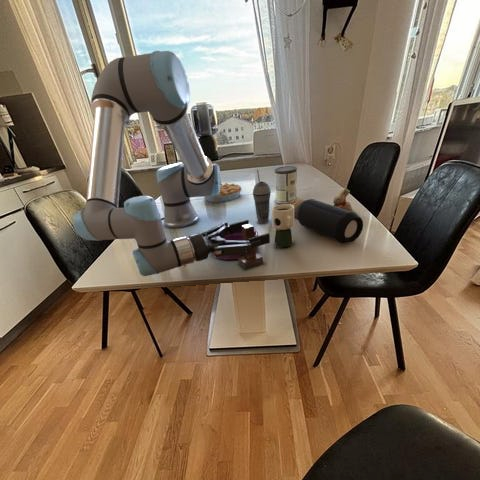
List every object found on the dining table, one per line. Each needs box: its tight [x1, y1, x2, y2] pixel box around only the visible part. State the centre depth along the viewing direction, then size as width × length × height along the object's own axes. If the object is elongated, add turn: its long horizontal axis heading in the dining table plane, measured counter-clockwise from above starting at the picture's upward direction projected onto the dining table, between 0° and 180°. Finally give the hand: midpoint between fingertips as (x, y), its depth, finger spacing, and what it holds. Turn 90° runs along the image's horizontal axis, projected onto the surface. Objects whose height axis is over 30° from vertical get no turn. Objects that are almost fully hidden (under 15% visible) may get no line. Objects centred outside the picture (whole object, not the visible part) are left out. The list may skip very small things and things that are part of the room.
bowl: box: [210, 229, 260, 261], centre depth 98 cm, size 17×17×5 cm
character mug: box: [271, 203, 295, 248], centre depth 95 cm, size 11×7×13 cm, turn 19°
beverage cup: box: [252, 169, 272, 225], centre depth 112 cm, size 7×7×20 cm
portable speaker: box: [296, 198, 364, 244], centre depth 100 cm, size 26×10×10 cm, turn 27°
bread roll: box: [290, 198, 306, 219], centre depth 119 cm, size 10×10×8 cm
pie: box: [203, 182, 243, 203], centre depth 153 cm, size 22×22×5 cm
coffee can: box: [274, 165, 298, 204], centre depth 134 cm, size 10×10×14 cm
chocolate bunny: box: [332, 187, 353, 212], centre depth 115 cm, size 6×8×10 cm
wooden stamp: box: [237, 223, 264, 271], centre depth 86 cm, size 6×4×12 cm
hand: (258, 230), depth 85 cm, fingers open, 13 cm apart
